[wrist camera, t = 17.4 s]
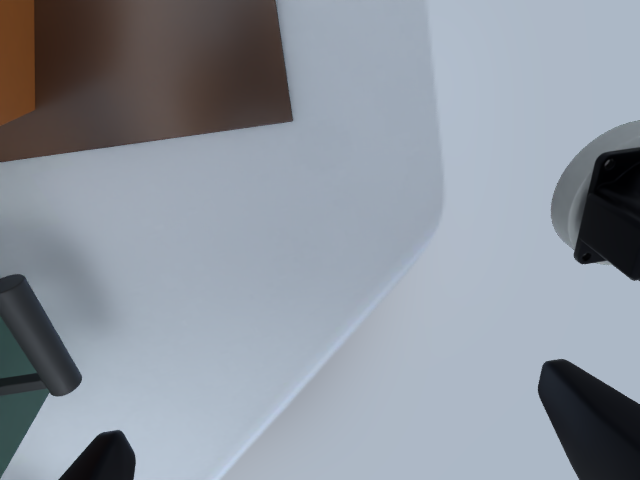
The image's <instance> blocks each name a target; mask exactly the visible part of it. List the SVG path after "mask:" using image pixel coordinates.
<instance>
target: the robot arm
mask: <svg viewBox="0 0 640 480" xmlns="http://www.w3.org/2000/svg"><path fill="white" fill-rule="evenodd" d="M608 160H609V162H608V164H607V165H605V163H606V162H607V161H608ZM584 254H586V255H584ZM583 255H584V256H583ZM574 258H575V260H577V261H578V262H579V263H581V264H589V263H596V262H602V261H608V262H609V263H611V264H612V265H613V266H615V267H616V268H617V269H619V270H620V271H621V272H622V273H624V274H625V275H626V276H627V277H629V278H630V279H631V280H634V281H635V280H639V281H640V147H637V148H630V149H623V150H616V151H609V152H605V153H602V154H601V155H599V156H598V158H597V159H596V161H595V164H594V168H593V172H592V177H591V181H590V186H589V190H588V194H587V199H586V203H585V207H584V212H583V216H582V221H581V225H580V229H579V234H578V238H577V242H576V247H575V252H574ZM538 393H539V397H540V399H541V401H542V403H543V406H544V407H545V410H546V412H547V414H548V416H549V418H550V421H551V423H552V425H553V427H554V429H555V431H556V433H557V436H558V438H559V440H560V442H561V444H562V446H563V448H564V451H565V453H566V455H567V457H568V459H569V461H570V463H571V465H572V467H573V469H574V471H575V472H576V474H577V476H578V478H579V480H640V404H638V403H637V402H635V401H633V400H632V399H630V398H628V397H627V396H625V395H623V394H622V393H620V392H618V391H617V390H615V389H614V388H612V387H610V386H609V385H607V384H605V383H604V382H602V381H600V380H599V379H597V378H595V377H594V376H592V375H590V374H589V373H587V372H585V371H584V370H582V369H581V368H579V367H577V366H576V365H574V364H572V363H571V362H569V361H567V360H564V359H558V360H551V361H546V362H545V363H544V364H543V367H542V371H541V375H540V380H539V384H538ZM135 464H136V459H135V454H134V451H133V449H132V448H131V446H130V444H129V442H128V440H127V439H126V437H125V435H124V433H123V432H122V431H120V430H115V431H109V432H103V433H101V434H99V435H98V436H97V437H96V438H95V439H94V440H93V441H92V442H91V443H90V444H89V445H88V447H87V448H86V449H85V450H84V451H83V452H82V453H81V455H80V456H79V457H78V458H77V459H76V460H75V461H74V463H73V464H72V465H71V466H70V467H69V468H68V469H67V471H66V472H65V473H64V474H63V475H62V476H61V477H60V479H59V480H133V479H134V472H135Z"/></svg>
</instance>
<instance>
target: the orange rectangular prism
mask: <svg viewBox="0 0 640 480" xmlns="http://www.w3.org/2000/svg"><path fill="white" fill-rule="evenodd" d="M34 110H35V43H34V0H0V126H1V125H4V124H6V123H8V122H10V121H12V120H14V119H17V118H19V117H21V116H23V115H25V114H27V113H30V112H32V111H34Z"/></svg>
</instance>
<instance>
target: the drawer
mask: <svg viewBox="0 0 640 480" xmlns="http://www.w3.org/2000/svg"><path fill="white" fill-rule="evenodd" d="M81 381H82V376H81V374H80V372H79V370H78V368H77V367H76V365H75V363H74V362H73V360H72V358H71V356H70V355H69V353H68V351H67V349H66V348H65V346H64V344H63V342H62V341H61V339H60V337H59V335H58V334H57V332H56V330H55V329H54V327H53V325H52V323H51V322H50V320H49V318H48V316H47V315H46V313H45V311H44V309H43V308H42V306H41V304H40V302H39V301H38V299H37V297H36V296H35V294H34V292H33V290H32V289H31V287H30V285H29V283H28V282H27V280H26V278H25V277H24V276H23V275H20V274H15V275H10V276H6V277H4V278H1V279H0V478H1V477H2V475H3V473H4V471H5V470H6V468H7V466H8V464H9V463H10V461H11V459H12V457H13V456H14V454H15V452H16V450H17V449H18V447H19V445H20V443H21V441H22V440H23V438H24V436H25V434H26V433H27V431H28V429H29V427H30V426H31V424H32V422H33V420H34V419H35V417H36V415H37V413H38V412H39V410H40V408H41V406H42V405H43V403H44V401H45V399H46V398H47V396H48V394H49V392H50V393H51V395H53V396H63V395H66V394H68V393H70V392H72V391H73V390H75V389H76V388H77V387H78V386H79V384H80V383H81Z"/></svg>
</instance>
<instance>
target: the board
mask: <svg viewBox="0 0 640 480" xmlns="http://www.w3.org/2000/svg"><path fill="white" fill-rule="evenodd" d="M34 43H35V110H34V111H32V112H30V113H27V114H25V115H23V116H21V117H19V118H17V119H14V120H12V121H10V122H8V123H6V124H4V125H1V126H0V162H6V161H13V160H20V159H27V158H34V157H41V156H49V155H56V154H63V153H70V152H77V151H84V150H91V149H99V148H106V147H113V146H120V145H127V144H134V143H142V142H149V141H156V140H163V139H170V138H177V137H184V136H192V135H199V134H206V133H213V132H220V131H227V130H234V129H242V128H249V127H256V126H263V125H270V124H277V123H284V122H292V121H293V117H292V111H291V104H290V97H289V90H288V83H287V76H286V69H285V62H284V56H283V49H282V42H281V35H280V28H279V21H278V14H277V7H276V0H34Z"/></svg>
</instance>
